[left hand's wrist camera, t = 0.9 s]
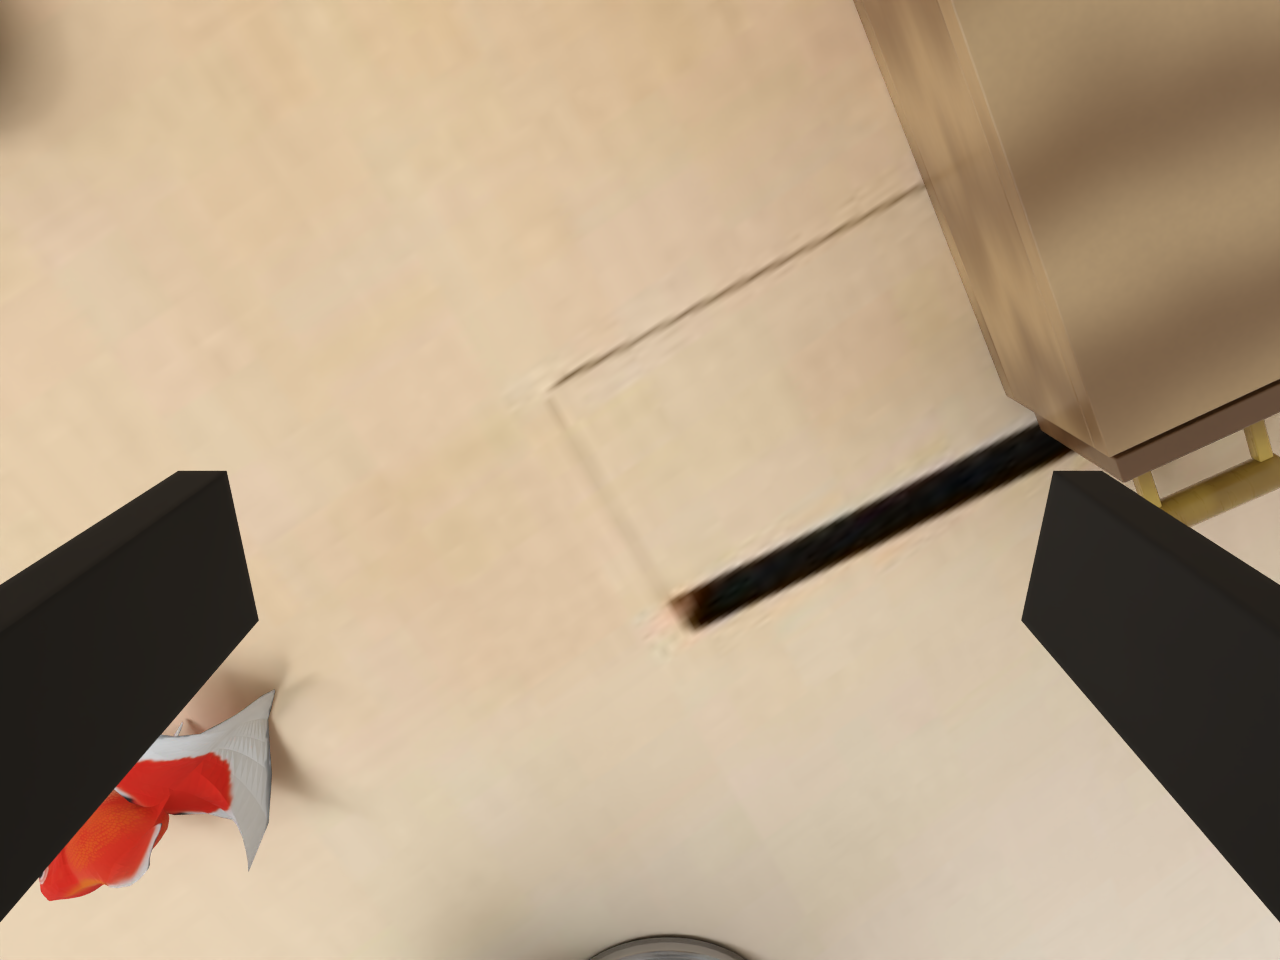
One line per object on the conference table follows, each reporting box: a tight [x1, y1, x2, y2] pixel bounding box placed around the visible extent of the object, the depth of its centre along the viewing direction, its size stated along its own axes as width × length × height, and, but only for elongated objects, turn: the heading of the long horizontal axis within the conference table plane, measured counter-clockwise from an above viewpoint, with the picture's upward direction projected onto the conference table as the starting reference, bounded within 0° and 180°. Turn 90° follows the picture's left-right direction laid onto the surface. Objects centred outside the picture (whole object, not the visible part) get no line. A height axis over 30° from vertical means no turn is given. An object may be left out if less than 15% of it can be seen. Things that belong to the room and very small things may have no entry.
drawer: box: [1035, 379, 1280, 527], centre depth 31 cm, size 25×10×7 cm, turn 29°
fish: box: [39, 689, 275, 901], centre depth 42 cm, size 11×16×10 cm
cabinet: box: [853, 0, 1280, 457], centre depth 29 cm, size 21×11×9 cm, turn 29°
